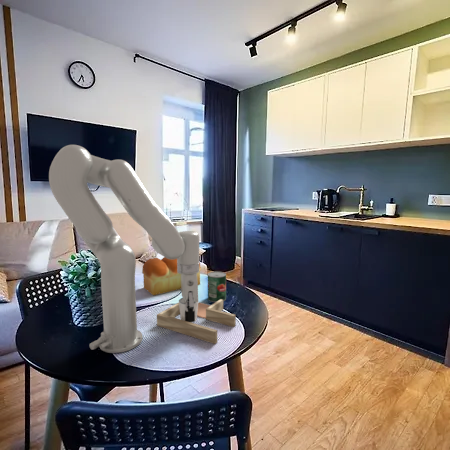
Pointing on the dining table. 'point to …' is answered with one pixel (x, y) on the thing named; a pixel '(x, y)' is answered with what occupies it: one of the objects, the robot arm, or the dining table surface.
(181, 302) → the shot glass
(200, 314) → the pad
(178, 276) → the bread
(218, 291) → the canned tomato
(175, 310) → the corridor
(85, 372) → the dining table surface
